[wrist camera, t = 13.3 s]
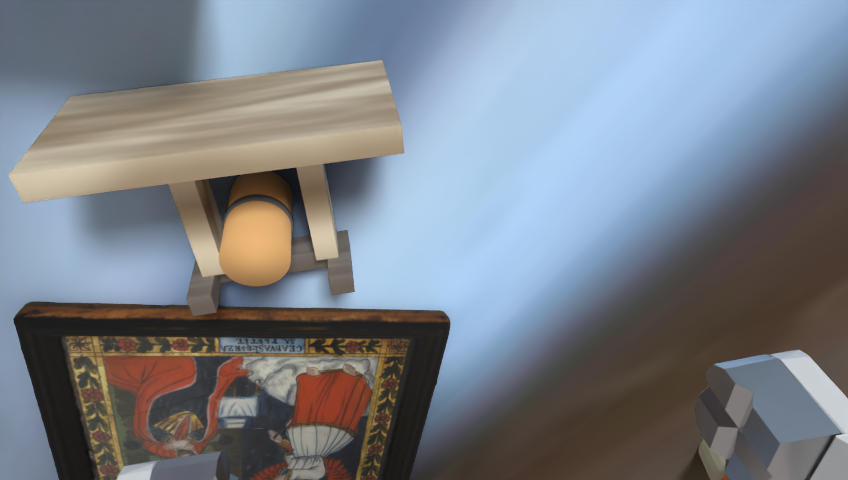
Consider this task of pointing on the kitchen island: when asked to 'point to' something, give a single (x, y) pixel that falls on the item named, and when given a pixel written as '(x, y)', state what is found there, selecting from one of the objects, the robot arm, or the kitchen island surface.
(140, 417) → the framed icon painting
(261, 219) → the banded tan cylinder
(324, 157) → the wooden trestle bench
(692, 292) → the kitchen island surface
